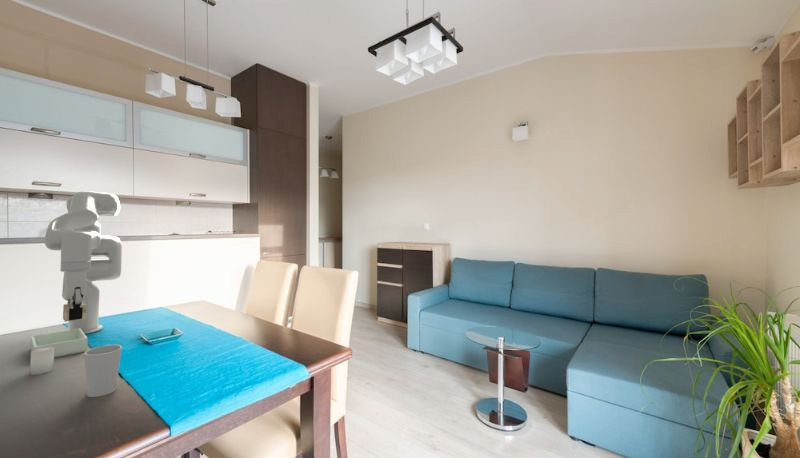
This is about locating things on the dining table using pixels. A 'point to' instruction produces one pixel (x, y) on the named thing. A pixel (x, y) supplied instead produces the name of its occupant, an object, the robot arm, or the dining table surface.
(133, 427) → the dining table surface
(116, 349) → the cup
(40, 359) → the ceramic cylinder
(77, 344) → the tote
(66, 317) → the beech cube
